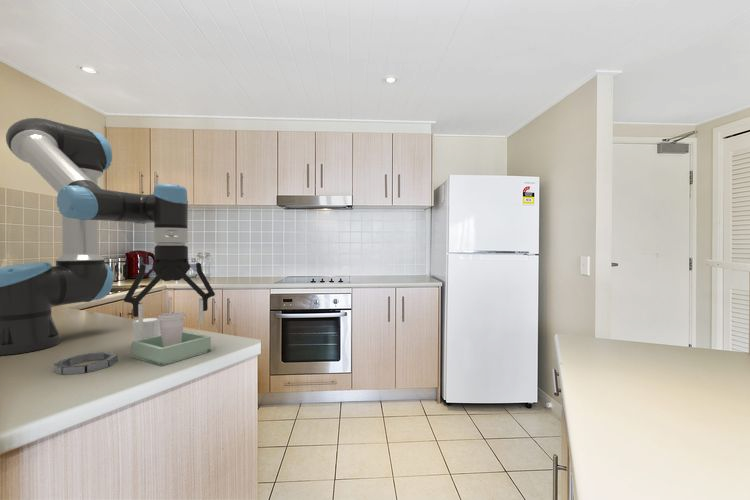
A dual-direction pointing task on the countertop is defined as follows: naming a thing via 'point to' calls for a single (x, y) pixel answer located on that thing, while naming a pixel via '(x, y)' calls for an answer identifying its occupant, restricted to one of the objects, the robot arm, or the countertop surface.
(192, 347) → the bin
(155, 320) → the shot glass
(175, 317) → the smoothie
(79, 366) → the collar
